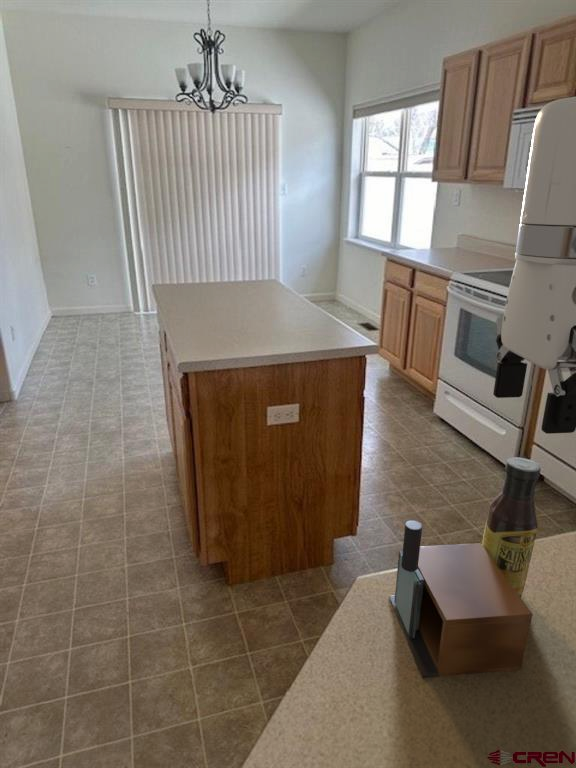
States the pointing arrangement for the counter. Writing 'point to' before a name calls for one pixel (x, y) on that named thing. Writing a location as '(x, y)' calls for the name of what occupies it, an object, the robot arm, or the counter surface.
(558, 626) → the counter surface
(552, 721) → the counter surface
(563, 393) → the robot arm
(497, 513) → the sauce bottle
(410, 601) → the glass door
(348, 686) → the counter surface
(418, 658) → the cabinet
